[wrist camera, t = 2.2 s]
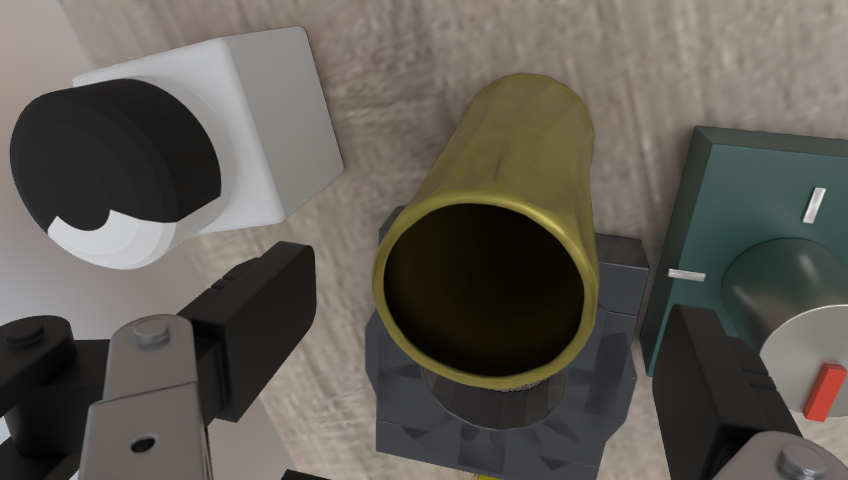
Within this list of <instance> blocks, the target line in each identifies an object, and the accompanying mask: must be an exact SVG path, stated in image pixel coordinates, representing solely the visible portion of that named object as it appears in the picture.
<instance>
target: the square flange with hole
mask: <svg viewBox="0 0 848 480" xmlns="http://www.w3.org/2000/svg"><path fill="white" fill-rule="evenodd" d="M404 209H405V208H401V207H396V208H395V210H394V211H393V212H392V213H391V215H390V216H389V217H388V219H387V220H386V221H385V222H384V224H383V225H382V226H381V227H380V229H379V246H380V244H381V242H382V241H383V239H384V237H385V235H386V234H387V232H388V230H389V229H390V227H391V225H392V224H393V222H394V221H395V220H396V218H397V217H398V216H399V214H400V213H401V212H402V211H403V210H404ZM595 241H596V251H597V257H598V263H599V291H598V302H597V310H596V318H595V325H594V327H593V330H592V332H591V335H590V337H589V339H588V340H587V342H586V344H585V345H584V347H583V349H582V350H581V351H580V352H579V353H578V355H577V356H576V357H575V358H574V359H573V360H572V361H571V362H570V363H569V364H568V365H567V366H566V367H564V368H563V369H562V370H560V371H559V372H558V373H556V374H554V375H552V376H551V377H550V379H549V380H547V381H545V382H543V383H541V384H539V385H537V386H535V387H533V388H531V389H529V390H523V391H515V392H506V393H502V392H497V391H492V390H487V389H482V388H479V387H476V386H470V385H466V384H462V383H459V382H456V381H453V380H451V379H448V378H446V377H444V376H442V375H439V374H437V373H435V372H433V371H431V370H429V369H427V368H425V367H424V366H422V365H421V364H419V363H417V362H416V361H415V360H413V359H412V358H411V357H410V356H409V355H407V354H406V353H405V352H404V351H403V350H402V349H401V348H400V347H399V346H398V345H397V344H396V342H395V341H394V340H393V338H392V337H391V335H390V334H389V332H388V330H387V328H386V327H385V325H384V323H383V321H382V319H381V317H380V315H379V312H378V310H377V307H376V308H375V310H374V312H373V314H372V316H371V318H370V320H369V322H368V324H367V325H366V329H365V369H366V373H367V375H368V377H369V379H370V382H371V384H372V386H373V388H374V391H375V393H376V395H377V409H376V418H377V419H376V451H378V452H382V453H386V454H391V455H395V456H400V457H404V458H408V459H413V460H417V461H422V462H426V463H431V464H435V465H439V466H444V467H448V468H453V469H457V470H461V471H466V472H470V473H475V474H479V475H483V476H488V477H492V478H497V479H501V480H596V478H597V475H598V471H599V466H600V463H601V459H602V455H603V451H604V447H605V443H606V441H607V440H608V439H609V438H610V437H611V436H612V435H613V434H614V433H615V432H616V431H617V430H618V429H619V428H620V426H621V425H622V424H623V423H624V422H625V420H626V418H627V414H628V410H629V407H630V403H631V399H632V396H633V392H634V388H635V385H636V381H637V372H636V366H635V361H634V355H633V349H632V344H631V342H632V338H633V334H634V330H635V326H636V323H637V319H638V314H639V310H640V306H641V302H642V298H643V294H644V291H645V287H646V283H647V279H648V275H649V271H650V268H649V264H648V261H647V257H646V254H645V250H644V247H643V243H642V241H641V240H637V239H630V238H622V237H615V236H607V235H600V234H595Z"/></svg>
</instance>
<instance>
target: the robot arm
mask: <svg viewBox="0 0 848 480" xmlns="http://www.w3.org/2000/svg"><path fill="white" fill-rule="evenodd" d="M316 305H317V301H316V274H315V254H314V250H313V248H312V247H311V246H310V245H303V244H297V243H291V242H284V241H279V242H278V243H276V244H275V245H274V246H273V247H272V248H270V249H269V250H268V251H267V252H266V253H264V254H263V255H262V256H261V257H260V258H256V257H255V258H253V259H251V260H248V261H246V262H244V263H241V264H239V265H236V266H235V267H234V268H233V269H231V270H230V271H229V272H228V273H226V274H225V275H224V276H223V277H222V279H219V280H218V281H217V282H215V283H214V284H213V285H212V286H211V288H208V289H207V290H206V291H204V292H203V293H202V294H201V295H199V296H198V297H197V298H196V299H195V300H193V301H192V302H191V303H190V304H188V305H187V306H186V307H185V308H184V309H182V310H181V311H180V312H179V313H177V314H176V315H169V314H161V315H152V316H148V317H143V318H140V319H137V320H134V321H132V322H130V323H128V324H126V325H124V326H122V327H121V328H120V329H118V330H117V331H116V332H115V333H114V334H113V336H112V337H111V339H107V340H106V339H104V340H74V338H73V334H72V330H71V326H70V323H69V322H68V321H67V320H66V319H64V318H62V317H57V316H50V315H43V316H33V317H27V318H23V319H19V320H16V321H12V322H10V323H7V324H5V325H2V326H0V418H1V417H2V416H4V418H5V420H6V423H7V426H8V429H9V432H10V434H11V436H10V437H9V438H8V439H7V440H5V441H4V442H3V443H2V444H1V445H0V480H69V479H70V478H71V477H72V476H73V475H74V474H75V473H76V472H77V471H78V469H79V474H78V480H214V477H213V468H212V459H211V450H210V442H209V433H208V427H207V426H208V425H209V424H210V423H211V422H212V420H213V419H214V418H218V419H222V420H226V421H231V422H235V423H237V422H238V421H239V419H240V418H241V417H242V415H243V414H244V413H245V412H246V410H247V409H248V408H249V406H250V405H251V404H252V402H253V401H254V400H255V398H256V397H257V396H258V395H259V394H260V392H261V391H262V390H263V388H264V387H265V386H266V385H267V383H268V382H269V381H270V379H271V378H272V377H273V375H274V374H275V373H276V372H277V370H278V369H279V368H280V366H281V365H282V364H283V363H284V361H285V360H286V359H287V357H288V356H289V355H290V353H291V352H292V351H293V350H294V348H295V347H296V346H297V344H298V343H299V342H300V341H301V339H302V338H303V337H304V335H305V334H306V333H307V332H308V330H309V329H310V327H311V325H312V323H313V320H314V317H315V313H316ZM652 390H653V397H654V402H655V406H656V411H657V416H658V421H659V425H660V430H661V435H662V439H663V444H664V449H665V453H666V458H667V463H668V468H669V472H670V477H671V480H848V468H847V467H846V466H845V465H844V464H843V463H842V462H841V461H840V460H839V459H838V458H837V457H835V456H834V455H833V454H832V453H830V452H829V451H827V450H826V449H824V448H823V447H821V446H819V445H817V444H815V443H813V442H811V441H809V440H807V439H805V438H803V436H802V434H801V432H800V430H799V428H798V426H797V425H796V423H795V421H794V419H793V417H792V415H791V413H790V411H789V409H788V408H787V406H786V404H785V402H784V400H783V398H782V396H781V394H780V393H779V391H777V387H776V385H775V383H774V381H773V379H772V378H771V376H769V372H768V370H767V368H766V366H765V364H764V363H763V361H762V359H761V357H760V355H759V354H758V353H757V352H756V351H754V350H753V349H752V348H751V347H750V346H749V345H748V344H747V343H745V342H744V341H743V340H742V339H741V338H738V337H732V336H727V334H726V332H725V330H724V328H723V326H722V324H721V321H720V319H719V317H718V315H717V313H716V311H715V310H713V309H708V308H701V307H695V306H688V305H682V304H674V305H673V306H672V308H671V310H670V313H669V316H668V319H667V323H666V327H665V330H664V334H663V337H662V341H661V344H660V348H659V351H658V355H657V358H656V362H655V366H654V371H653V381H652ZM281 480H330V479H326V478H322V477H318V476H314V475H310V474H305V473H301V472H297V471H293V470H289V469H287V470H286V472H285V474H284V476H283V477H282V479H281Z"/></svg>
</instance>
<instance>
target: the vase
mask: <svg viewBox="0 0 848 480" xmlns="http://www.w3.org/2000/svg"><path fill="white" fill-rule="evenodd" d="M594 138H595V133H594V127H593V123H592V120H591V117H590V115H589V113H588V110H587V108H586V106H585V104H584V103H583V102H582V100H581V99H580V98H579V97H578V96H577V95H576V94H575V93H574V92H573V91H572V90H571V89H569V88H568V87H566V86H565V85H563V84H561V83H559V82H557V81H555V80H553V79H551V78H549V77H546V76H541V75H534V74H519V75H512V76H507V77H504V78H502V79H499V80H497V81H495V82H493V83H492V84H490V85H489V86H487V87H486V88H484V89H483V90H482V91H481V92H479V93H478V94H477V95H476V96H475V97H474V98H473V100H472V101H471V102H470V104H469V106H468V107H467V109H466V110H465V112H464V114H463V116H462V119H461V122H460V125H459V127H458V128H457V129H456V131H455V132H454V133H453V135H452V137H451V139H450V140H449V142H448V144H447V145H446V147H445V149H444V150H443V152H442V153H441V155H440V156H439V158H438V159H437V161H436V163H435V164H434V166H433V167H432V169H431V171H430V172H429V174H428V176H427V177H426V179H425V180H424V182H423V184H422V185H421V187H420V188H419V190H418V191H417V193H416V195H415V196H414V198H413V200H412V201H411V203H410V204H409V205H408V206H407V207H406V208H405V209H404V210H403V211H402V212H401V213H400V214H399V216H398V217H397V218H396V220H395V221H394V222H393V224H392V225H391V227H390V229H389V230H388V232H387V234H386V235H385V237H384V239H383V241H382V242H381V244H380V246H379V248H378V250H377V253H376V256H375V260H374V265H373V272H372V287H373V295H374V301H375V304H376V307H377V310H378V312H379V315H380V317H381V319H382V321H383V323H384V325H385V327H386V328H387V330H388V332H389V334H390V335H391V337H392V338H393V340H394V341H395V342H396V344H397V345H398V346H399V347H400V348H401V349H402V350H403V351H404V352H405V353H406V354H407V355H409V356H410V357H411V358H412V359H413V360H415V361H416V362H417V363H419V364H421V365H422V366H424V367H425V368H427V369H429V370H431V371H433V372H435V373H437V374H439V375H442V376H444V377H446V378H448V379H451V380H453V381H456V382H459V383H462V384H466V385H470V386H476V387H482V388H489V389H507V388H514V387H519V386H523V385H526V384H529V383H533V382H536V381H539V380H542V379H545V378H547V377H549V376H551V375H554V374H556V373H558V372H559V371H560V370H562V369H563V368H564V367H566V366H567V365H568V364H569V363H570V362H571V361H572V360H573V359H574V358H575V357H576V356H577V355H578V353H579V352H580V351H581V350H582V349H583V347H584V345H585V344H586V342H587V340H588V339H589V337H590V335H591V332H592V330H593V327H594V325H595V318H596V310H597V302H598V291H599V263H598V257H597V251H596V241H595V232H594V224H593V213H592V203H591V193H590V163H591V162H592V156H593V149H594Z"/></svg>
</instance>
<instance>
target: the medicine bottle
mask: <svg viewBox="0 0 848 480" xmlns="http://www.w3.org/2000/svg"><path fill="white" fill-rule="evenodd" d="M72 83H73V87H74V88H69V89H64V90H59V91H54V92H50V93H47V94H44V95H41V96H40V97H38V98H36V99H34V100H33V101H32V102H31V103H30V104H28V105H27V106H26V107H25V109H24V110H23V111H22V113H21V114H20V116H19V119H18V120H17V122H16V125H15V128H14V131H13V134H12V138H11V143H10V163H11V170H12V174H13V178H14V181H15V185H16V187H17V190H18V192H19V194H20V197H21V199H22V200H23V202H24V204H25V206H26V208H27V209H28V211H29V213H30V214H31V216H32V217H33V218H34V220H35V221H36V222H37V224H38V225H39V226H40V227H41V228H42V229H43V230H44V231H45V232H46V234H47V235H48V236H50V238H52V239H53V240H54V241H55V242H56V243H57V244H59V245H60V246H61V247H63V248H64V249H65V250H66V251H69V252H70V253H71V254H73V255H75V256H76V257H79V258H81V259H83V260H85V261H87V262H90V263H93V264H96V265H100V266H104V267H108V268H113V269H124V270H126V269H135V268H140V267H143V266H146V265H148V264H150V263H152V262H154V261H155V260H157V259H158V258H160V257H161V256H163V255H164V254H166V253H167V252H169V251H170V250H172V249H174V248H175V247H177V246H178V245H180V244H181V243H183V242H184V241H186V240H187V239H189V238H190V237H192V236H193V235H197V234H205V233H212V232H219V231H227V230H234V229H242V228H249V227H257V226H264V225H272V224H278V223H281V222H283V221H284V220H285V219H287V218H288V217H289V216H290V215H291V214H293V213H294V212H295V211H296V210H298V209H299V208H300V207H301V206H302V205H304V204H305V203H306V202H307V201H309V200H310V199H311V198H312V197H313V196H315V195H316V194H317V193H318V192H319V191H321V190H322V189H323V188H324V187H326V186H327V185H328V184H329V183H330V182H332V181H333V180H334V179H335V178H337V177H338V176H339V175H340V174H341V173H342V172H343V170H344V165H343V162H342V158H341V154H340V151H339V147H338V144H337V140H336V137H335V133H334V130H333V126H332V123H331V119H330V116H329V112H328V109H327V105H326V102H325V98H324V95H323V91H322V87H321V84H320V80H319V77H318V73H317V70H316V66H315V63H314V59H313V56H312V52H311V49H310V45H309V42H308V38H307V35H306V32H305V30H304V29H303V28H301V27H296V26H295V27H289V28H282V29H275V30H268V31H261V32H254V33H247V34H240V35H233V36H226V37H219V38H214V39H210V40H206V41H203V42H199V43H195V44H191V45H187V46H184V47H180V48H176V49H172V50H168V51H164V52H161V53H157V54H153V55H149V56H145V57H142V58H138V59H134V60H130V61H126V62H123V63H119V64H115V65H111V66H107V67H103V68H100V69H96V70H92V71H89V72H85V73H81V74H78V75H77V76H75V77H74V78H73V81H72Z"/></svg>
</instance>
